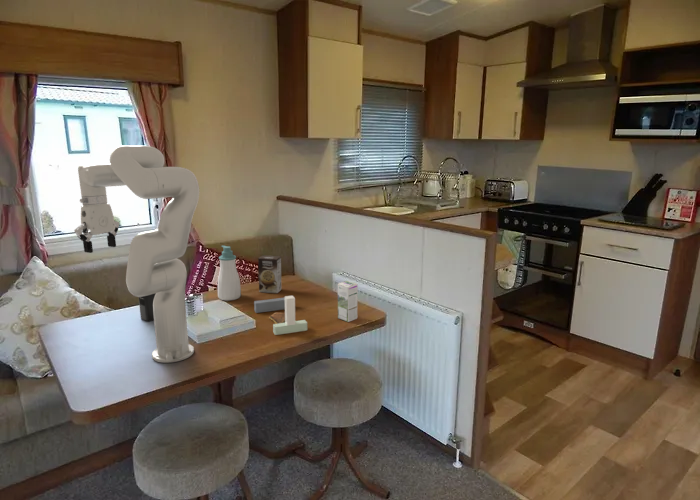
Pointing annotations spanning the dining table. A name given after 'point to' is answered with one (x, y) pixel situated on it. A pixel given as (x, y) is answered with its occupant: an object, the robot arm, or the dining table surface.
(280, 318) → the shard
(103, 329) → the dining table surface
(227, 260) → the soap bottle
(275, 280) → the coffee box
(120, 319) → the dining table surface
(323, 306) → the dining table surface
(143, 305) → the wine bottle
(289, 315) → the green white t block
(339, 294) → the syrup box
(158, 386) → the dining table surface
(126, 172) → the robot arm
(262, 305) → the rail
